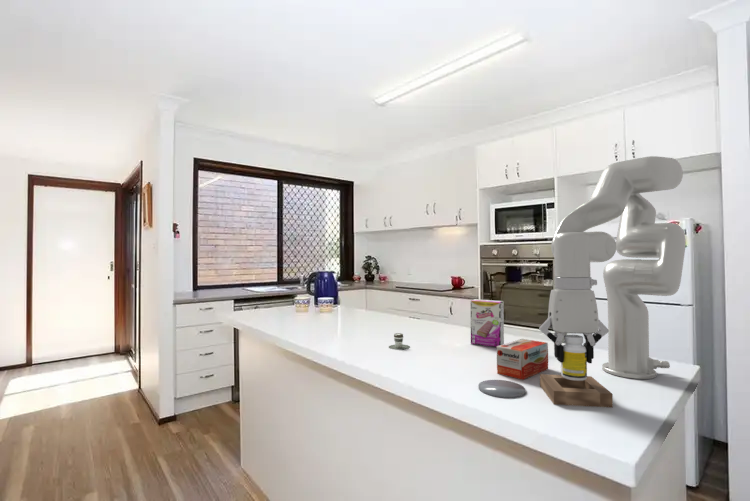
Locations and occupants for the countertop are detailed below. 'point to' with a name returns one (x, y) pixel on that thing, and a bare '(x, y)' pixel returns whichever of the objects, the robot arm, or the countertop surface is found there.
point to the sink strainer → (399, 342)
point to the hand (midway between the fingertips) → (573, 360)
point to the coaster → (501, 388)
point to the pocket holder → (575, 391)
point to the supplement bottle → (574, 358)
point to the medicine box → (522, 358)
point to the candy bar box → (487, 322)
